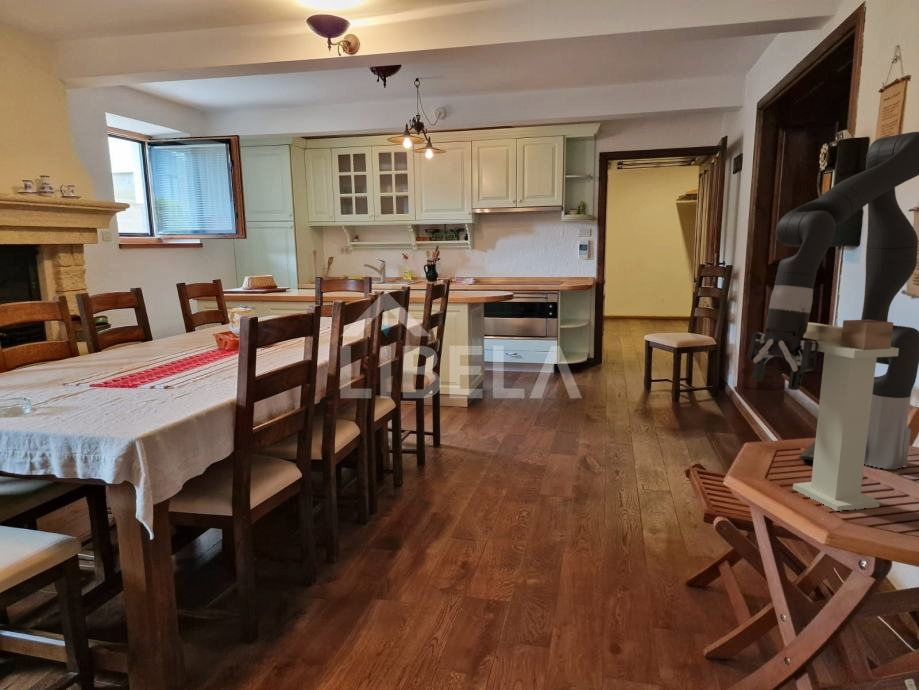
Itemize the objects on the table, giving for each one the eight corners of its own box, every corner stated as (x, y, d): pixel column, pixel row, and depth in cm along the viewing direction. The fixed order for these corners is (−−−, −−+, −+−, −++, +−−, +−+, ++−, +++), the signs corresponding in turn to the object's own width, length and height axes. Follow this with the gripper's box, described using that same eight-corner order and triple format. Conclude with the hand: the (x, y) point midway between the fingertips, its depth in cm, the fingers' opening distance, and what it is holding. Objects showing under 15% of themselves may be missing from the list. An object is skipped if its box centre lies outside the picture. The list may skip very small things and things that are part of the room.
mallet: (785, 335, 122) (787, 313, 121) (808, 334, 123) (810, 312, 123) (863, 350, 104) (866, 323, 103) (890, 348, 105) (893, 322, 104)
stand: (792, 488, 119) (807, 341, 114) (832, 484, 121) (847, 339, 116) (836, 511, 109) (854, 350, 103) (879, 506, 111) (898, 348, 106)
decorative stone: (826, 471, 129) (828, 454, 129) (796, 463, 134) (797, 447, 134) (851, 454, 140) (852, 438, 139) (822, 447, 145) (823, 432, 144)
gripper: (835, 314, 111) (818, 393, 112) (773, 307, 124) (759, 379, 126) (808, 310, 108) (792, 392, 110) (747, 304, 121) (734, 377, 123)
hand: (774, 385), depth 118 cm, fingers open, 8 cm apart
